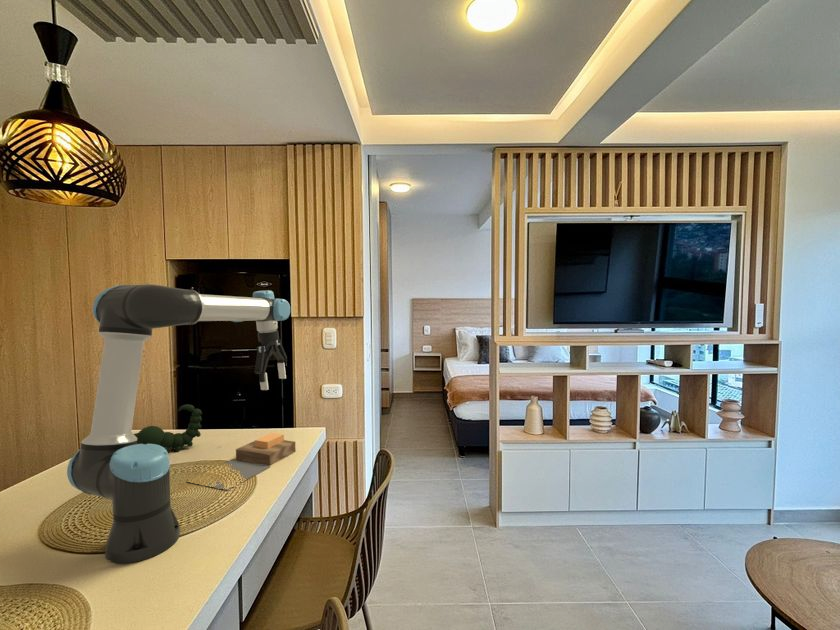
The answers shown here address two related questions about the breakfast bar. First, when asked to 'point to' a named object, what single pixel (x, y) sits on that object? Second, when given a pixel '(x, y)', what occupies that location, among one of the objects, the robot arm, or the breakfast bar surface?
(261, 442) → the orange brown block
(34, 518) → the breakfast bar surface
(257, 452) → the walnut deck
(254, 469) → the charcoal mat
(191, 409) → the toy figurine
